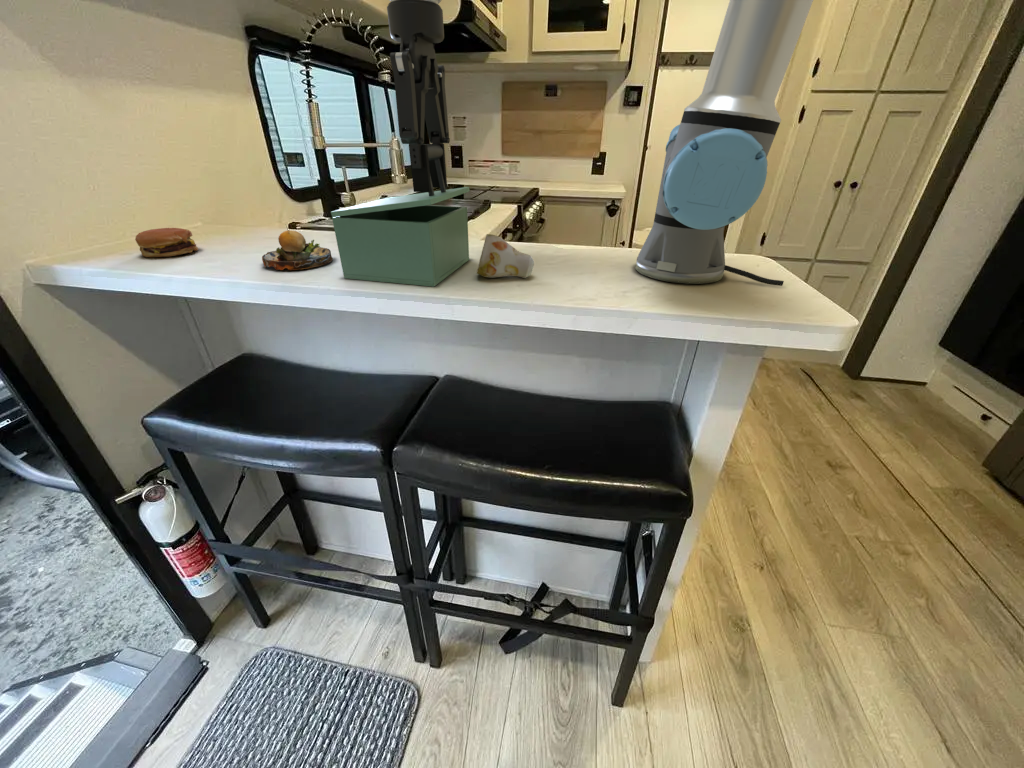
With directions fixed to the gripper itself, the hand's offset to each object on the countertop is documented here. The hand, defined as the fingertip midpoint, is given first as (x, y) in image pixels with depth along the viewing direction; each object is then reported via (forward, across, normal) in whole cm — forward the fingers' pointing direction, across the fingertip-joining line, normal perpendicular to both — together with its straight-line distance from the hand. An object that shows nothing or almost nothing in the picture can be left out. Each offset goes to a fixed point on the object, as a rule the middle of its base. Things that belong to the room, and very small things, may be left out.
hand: (431, 189), depth 68 cm
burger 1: (+13, +4, -56) cm, 58 cm away
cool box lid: (+2, 0, -5) cm, 5 cm away
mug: (+14, 0, +13) cm, 19 cm away
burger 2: (+13, +2, -27) cm, 31 cm away
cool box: (+13, 0, -5) cm, 15 cm away
